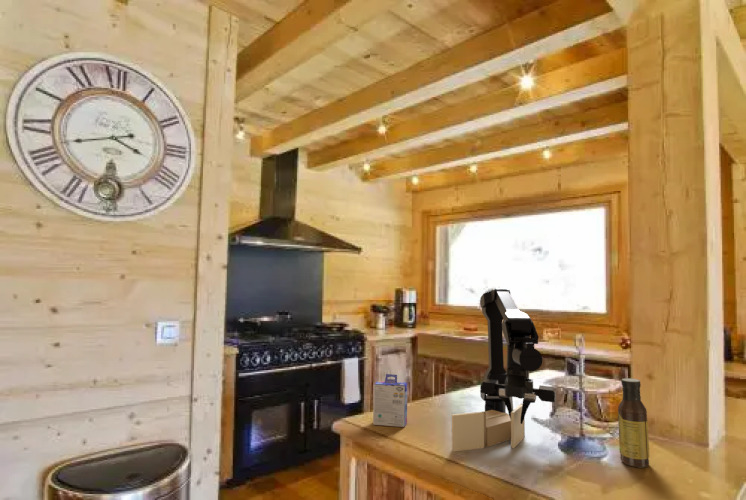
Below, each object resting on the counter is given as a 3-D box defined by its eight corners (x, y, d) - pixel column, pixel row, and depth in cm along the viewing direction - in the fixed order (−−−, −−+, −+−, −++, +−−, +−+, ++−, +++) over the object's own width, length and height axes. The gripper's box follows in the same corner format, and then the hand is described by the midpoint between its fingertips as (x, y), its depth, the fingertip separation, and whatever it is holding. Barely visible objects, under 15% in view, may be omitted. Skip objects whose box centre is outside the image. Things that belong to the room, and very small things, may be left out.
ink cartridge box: (407, 422, 140) (408, 374, 141) (405, 427, 134) (405, 378, 135) (376, 420, 142) (376, 372, 143) (372, 425, 136) (373, 376, 137)
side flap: (521, 435, 128) (521, 403, 129) (525, 436, 128) (524, 403, 128) (510, 447, 119) (510, 412, 120) (514, 448, 119) (514, 412, 119)
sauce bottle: (630, 456, 114) (628, 376, 115) (655, 466, 108) (652, 380, 109) (613, 460, 111) (611, 378, 112) (638, 470, 105) (635, 383, 107)
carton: (491, 426, 136) (491, 408, 137) (520, 435, 128) (520, 416, 129) (458, 436, 127) (458, 417, 128) (487, 446, 119) (487, 426, 120)
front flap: (451, 450, 117) (451, 414, 117) (484, 446, 120) (484, 411, 120) (453, 451, 116) (453, 415, 116) (486, 447, 119) (486, 412, 119)
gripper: (477, 364, 118) (475, 425, 117) (554, 373, 110) (553, 438, 110) (484, 358, 128) (483, 414, 127) (555, 365, 121) (555, 425, 120)
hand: (516, 422), depth 121 cm, fingers closed
